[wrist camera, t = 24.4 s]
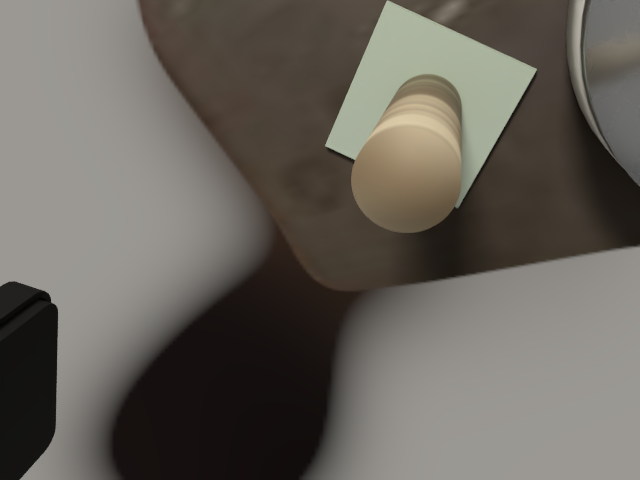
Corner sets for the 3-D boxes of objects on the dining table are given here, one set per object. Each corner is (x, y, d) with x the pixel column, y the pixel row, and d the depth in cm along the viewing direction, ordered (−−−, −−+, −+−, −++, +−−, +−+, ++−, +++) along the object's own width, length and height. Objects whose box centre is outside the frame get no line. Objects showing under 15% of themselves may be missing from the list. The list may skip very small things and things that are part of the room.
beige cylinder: (397, 69, 34) (358, 120, 21) (468, 79, 33) (472, 137, 20) (387, 137, 35) (345, 222, 23) (454, 148, 35) (449, 241, 22)
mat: (536, 68, 32) (536, 69, 32) (457, 206, 36) (457, 208, 36) (387, 0, 33) (386, 0, 32) (326, 144, 37) (325, 145, 36)
